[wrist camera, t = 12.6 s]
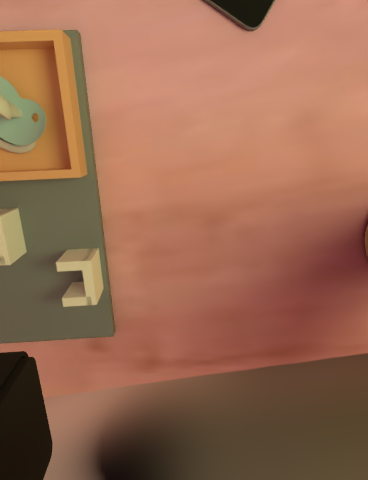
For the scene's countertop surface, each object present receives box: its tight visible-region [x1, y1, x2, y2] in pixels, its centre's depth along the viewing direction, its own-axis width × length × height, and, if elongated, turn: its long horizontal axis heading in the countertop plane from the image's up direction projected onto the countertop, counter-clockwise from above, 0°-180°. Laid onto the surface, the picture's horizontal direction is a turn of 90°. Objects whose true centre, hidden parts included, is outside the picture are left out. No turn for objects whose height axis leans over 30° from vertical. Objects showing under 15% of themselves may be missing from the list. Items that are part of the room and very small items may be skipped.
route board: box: [0, 30, 115, 344], centre depth 34 cm, size 14×33×5 cm, turn 2°
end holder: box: [0, 30, 87, 181], centre depth 32 cm, size 13×13×3 cm
